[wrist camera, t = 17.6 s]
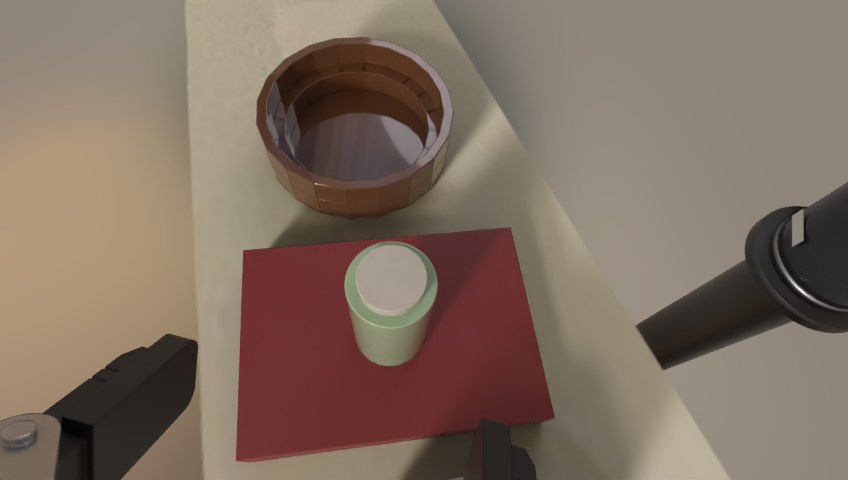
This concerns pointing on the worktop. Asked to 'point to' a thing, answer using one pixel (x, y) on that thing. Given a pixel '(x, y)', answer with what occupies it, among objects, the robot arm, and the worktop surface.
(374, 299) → the pepper shaker
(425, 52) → the worktop surface
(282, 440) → the book
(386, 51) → the bowl
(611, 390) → the worktop surface
